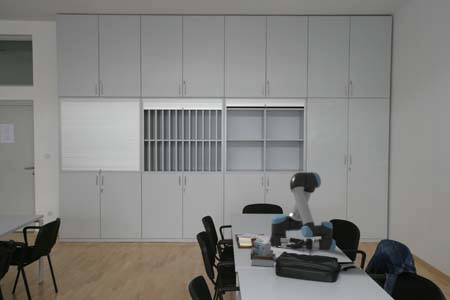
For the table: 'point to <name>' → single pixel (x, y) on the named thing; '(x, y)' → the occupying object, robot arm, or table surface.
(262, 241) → the light bulb box
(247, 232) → the table surface
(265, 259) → the brown wooden square frame
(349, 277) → the table surface
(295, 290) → the table surface
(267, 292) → the table surface
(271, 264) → the slate mat
